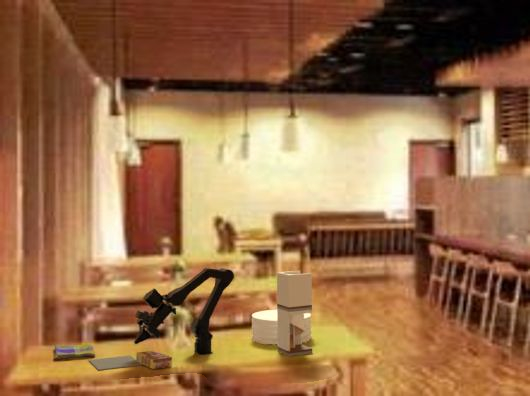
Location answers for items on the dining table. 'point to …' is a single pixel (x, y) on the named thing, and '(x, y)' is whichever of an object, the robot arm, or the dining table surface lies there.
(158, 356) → the candy box
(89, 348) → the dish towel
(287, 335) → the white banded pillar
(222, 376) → the dining table surface
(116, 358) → the mat
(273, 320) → the plate stack
